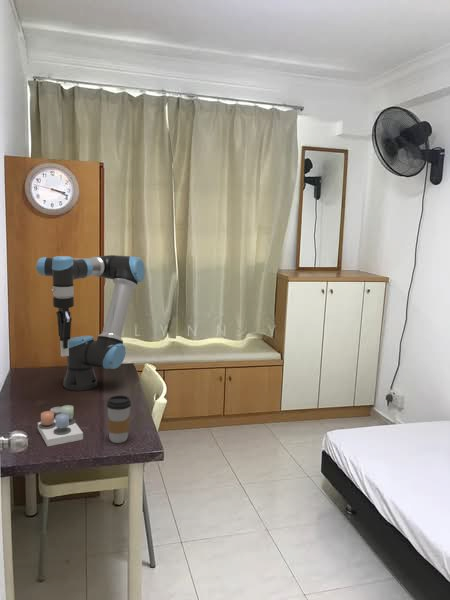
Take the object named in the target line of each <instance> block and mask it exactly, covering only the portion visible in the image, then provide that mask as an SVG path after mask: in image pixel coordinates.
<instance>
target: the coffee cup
mask: <svg viewBox="0 0 450 600" xmlns="http://www.w3.org/2000/svg"><path fill="white" fill-rule="evenodd" d="M131 402H132V401H131V399H130V397H129V396H127V395H112V396H109V398H108V401H106V407H107V425H108V435H109V441H110V442H111V443H113V444H122V443H125V442H126V441H127V440H128V438H129V429H130V418H131V407H132V403H131Z"/></svg>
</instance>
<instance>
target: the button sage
mask: <svg viewBox="0 0 450 600" xmlns="http://www.w3.org/2000/svg"><path fill="white" fill-rule="evenodd" d="M60 407H61V413H66V414H68V415H69V419H70V418H72V419H74V416H75V415H74V405H71V404H70V405H69V404H64V405H63V406H60ZM61 413H60V414H61Z"/></svg>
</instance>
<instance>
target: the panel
mask: <svg viewBox="0 0 450 600" xmlns="http://www.w3.org/2000/svg"><path fill="white" fill-rule="evenodd" d="M37 430H38V432H39V433H40V434H39V435H41V438H42V439H43V441H44V442H45V445H46V447H51V446H57V445H62V444H67V443H72V442H76V441H77V442H78V441H82V440H84V432H83V431H82V430H81V428H80V426H79V425H78V424H77V423H76V419H75V418H70V419H69V426H68V427H65V428H57V427H56V420H54V423H53V424H51V425H42V424H41V421H39V422H37Z"/></svg>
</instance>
